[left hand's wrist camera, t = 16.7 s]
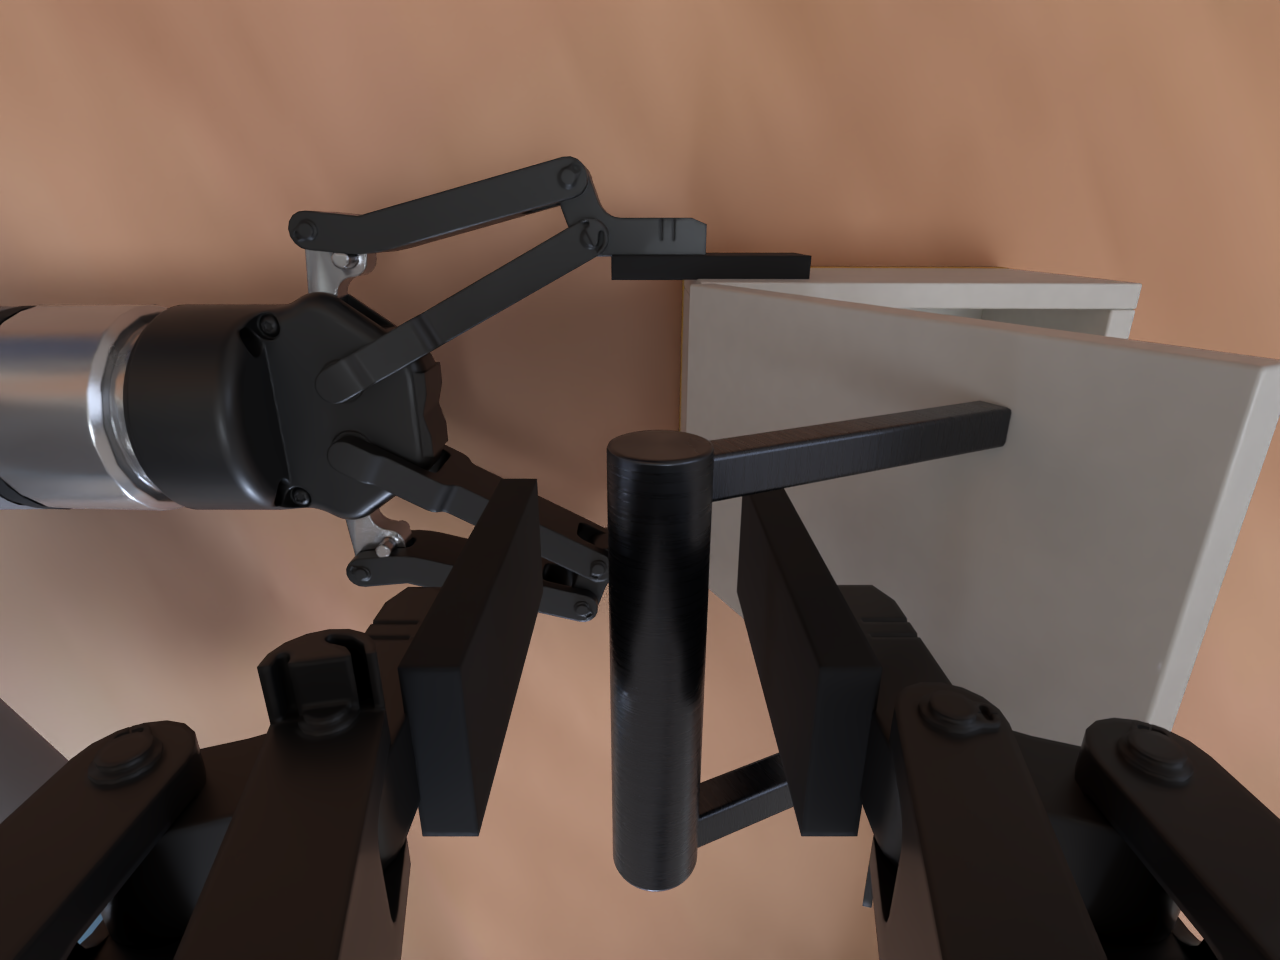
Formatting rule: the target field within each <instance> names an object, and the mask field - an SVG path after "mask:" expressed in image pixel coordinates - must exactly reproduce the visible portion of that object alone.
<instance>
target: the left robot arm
mask: <svg viewBox="0 0 1280 960" xmlns="http://www.w3.org/2000/svg"><path fill="white" fill-rule="evenodd" d="M542 595H543V577H542V560H541V542H540V525H539V507H538V490H537V479H501V480H500V482H499V484H498V486H497V487H496V489H495V491H494V493H493V495H492V497H491V498H490V500H489V502H488V504H487V506H486V507H485V509H484V511H483V513H482V515H481V517H480V518H479V520H478V522H477V524H476V526H475V527H474V529H473V531H472V533H471V535H470V537H469V538H468V540H467V542H466V544H465V546H464V547H463V549H462V551H461V553H460V555H459V557H458V558H457V560H456V562H455V564H454V566H453V567H452V569H451V571H450V573H449V575H448V577H447V578H446V580H445V582H444V584H443V586H442V587H407V588H406V589H404V590H403V591H402V592H400V593H399V594H397V595H396V596H394V597H393V598H391V599H390V600H389V601H387V602H386V603H385V604H384V606H383V607H382V609H381V610H380V611H379V613H378V614H377V616H376V617H375V619H374V620H373V624H371V625H370V626H369V628H368V629H367V631H366V632H365V633H363V632H359V631H355V630H351V629H328V630H323V631H319V632H314V633H309V634H305V635H303V636H300V637H298V638H295V639H293V640H290V641H288V642H285V643H284V644H282V645H281V646H279V647H278V648H276V649H275V650H273V651H272V652H270V653H269V654H267V656H266V657H265V658H264V659H263V661H262V662H261V663H260V664H259V665H258V667H257V669H258V673H259V678H260V682H261V686H262V690H263V694H264V699H265V703H266V707H267V711H268V715H269V720H270V724H271V725H270V727H269V729H268V732H267V734H263V735H260V736H256V737H253V738H249V739H245V740H240V741H235V742H231V743H226V744H221V745H217V746H212V747H208V748H203V749H200V748H199V745H198V741H197V738H196V734H195V732H194V731H193V730H192V729H191V728H190V727H188V726H187V725H186V724H185V723H179V722H173V721H168V720H167V721H158V722H148V723H142V724H139V725H135V726H132V727H127V728H125V729H122V730H119V731H116V732H114V733H113V734H111V735H109V736H107V737H105V738H103V739H101V740H99V741H96V742H94V743H92V744H91V745H90V746H88V747H87V748H85V749H84V750H83V751H81V752H80V753H79V754H77V755H76V756H75V757H73V758H72V759H70V760H69V761H68V762H67V763H66V764H65V765H64V766H63V767H62V768H61V769H60V770H58V771H57V772H56V773H55V774H54V775H53V776H52V777H51V778H50V779H49V780H48V781H46V782H45V783H44V784H43V785H42V786H41V787H40V788H39V789H38V790H37V791H36V792H34V793H33V794H32V795H31V796H30V797H29V798H28V799H27V800H26V801H25V802H24V803H22V804H21V805H20V806H19V807H18V808H17V809H16V810H15V811H14V812H13V813H11V814H10V815H9V816H8V817H7V818H6V819H5V820H4V821H3V822H2V823H1V824H0V960H401V953H402V943H403V933H404V924H405V914H406V905H407V895H408V885H409V876H410V866H411V862H410V856H409V849H408V842H407V834H408V832H409V829H410V826H411V824H412V821H413V819H414V816H415V813H416V811H417V808H419V815H420V822H421V828H422V835H423V836H479V833H480V829H481V825H482V821H483V817H484V814H485V810H486V806H487V802H488V799H489V795H490V791H491V787H492V783H493V780H494V776H495V772H496V768H497V765H498V761H499V757H500V753H501V749H502V746H503V742H504V738H505V734H506V731H507V727H508V723H509V719H510V716H511V712H512V708H513V704H514V700H515V697H516V693H517V689H518V685H519V682H520V678H521V674H522V670H523V666H524V663H525V659H526V655H527V651H528V648H529V644H530V640H531V636H532V632H533V629H534V625H535V621H536V617H537V614H538V610H539V606H540V602H541V598H542ZM737 595H738V598H739V602H740V606H741V610H742V614H743V617H744V621H745V625H746V629H747V632H748V636H749V640H750V644H751V648H752V651H753V655H754V659H755V663H756V666H757V670H758V674H759V678H760V682H761V685H762V689H763V693H764V697H765V700H766V704H767V708H768V712H769V716H770V719H771V723H772V727H773V731H774V734H775V738H776V742H777V746H778V749H779V753H780V757H781V761H782V765H783V768H784V772H785V776H786V780H787V783H788V787H789V791H790V795H791V799H792V802H793V806H794V810H795V814H796V817H797V821H798V825H799V829H800V833H801V836H857V835H858V828H859V822H860V815H861V808H862V805H863V807H864V810H865V813H866V815H867V818H868V820H869V823H870V826H871V828H872V831H873V833H874V836H873V842H872V849H871V855H870V861H869V867H868V873H867V880H866V886H865V892H864V899H863V906H866V907H872V901H873V903H874V913H875V922H876V932H877V941H878V951H879V960H1280V819H1279V818H1278V817H1277V816H1276V815H1275V814H1274V813H1272V812H1271V811H1270V810H1269V809H1268V808H1267V807H1266V806H1265V805H1264V804H1263V803H1261V802H1260V801H1259V800H1258V799H1257V798H1256V797H1255V796H1254V795H1253V794H1251V793H1250V792H1249V791H1248V790H1247V789H1246V788H1245V787H1244V786H1243V785H1242V784H1240V783H1239V782H1238V781H1237V780H1236V779H1235V778H1234V777H1233V776H1232V775H1231V774H1229V773H1228V772H1227V771H1226V770H1225V769H1224V768H1223V767H1222V766H1221V765H1220V764H1218V763H1217V762H1216V761H1215V760H1214V759H1213V758H1212V757H1211V756H1209V755H1208V754H1207V753H1205V752H1204V751H1203V750H1201V749H1200V748H1198V747H1197V746H1196V745H1194V744H1193V743H1192V742H1190V741H1189V740H1187V739H1185V738H1183V737H1181V736H1178V735H1176V734H1174V733H1172V732H1170V731H1168V730H1167V729H1165V728H1162V727H1159V726H1156V725H1153V724H1149V723H1146V722H1142V721H1138V720H1132V719H1123V718H1108V719H1102V720H1096V721H1095V722H1094V723H1093V724H1091V725H1090V726H1089V727H1088V728H1087V729H1086V731H1085V734H1084V738H1083V741H1082V745H1081V746H1077V745H1072V744H1067V743H1063V742H1058V741H1053V740H1049V739H1044V738H1039V737H1035V736H1031V735H1027V734H1023V733H1020V732H1016V731H1013V730H1012V728H1011V726H1010V724H1009V722H1008V721H1007V719H1006V718H1005V716H1004V715H1003V714H1002V712H1001V711H1000V709H998V708H997V707H996V706H994V705H993V704H992V703H990V702H989V701H988V700H987V699H985V698H984V697H982V696H980V695H978V694H976V693H974V692H971V691H969V690H967V689H965V688H963V687H958V686H954V685H952V684H951V682H950V681H949V679H948V678H947V676H946V675H945V673H944V672H943V670H942V669H941V667H940V666H939V665H938V663H937V662H936V660H935V659H934V657H933V656H932V654H931V653H930V651H929V650H928V648H927V647H926V645H925V644H924V643H923V641H922V640H921V638H920V637H917V632H916V631H915V629H914V628H913V626H912V625H911V623H910V622H907V618H906V616H905V615H904V613H903V612H902V610H901V609H900V607H899V606H898V604H897V603H896V601H895V600H893V599H892V598H891V597H889V596H888V595H886V594H885V593H883V592H882V591H880V590H879V589H878V588H876V587H875V586H873V585H837V584H836V582H835V580H834V578H833V577H832V575H831V573H830V571H829V569H828V567H827V566H826V564H825V562H824V560H823V558H822V557H821V555H820V553H819V551H818V549H817V547H816V546H815V544H814V542H813V540H812V538H811V537H810V535H809V533H808V531H807V529H806V527H805V526H804V524H803V522H802V520H801V518H800V517H799V515H798V513H797V511H796V509H795V507H794V506H793V504H792V502H791V500H790V498H789V497H788V495H787V493H786V491H785V489H778V490H773V491H768V492H763V493H758V494H752V495H747V496H742V507H741V525H740V542H739V560H738V577H737ZM1180 910H1181V911H1182V912H1183V913H1184V915H1185V916H1186V917H1187V918H1188V920H1189V921H1190V922H1191V923H1192V925H1193V926H1194V927H1195V928H1196V930H1197V931H1198V932H1199V933H1200V934H1201V936H1202V937H1203V938H1204V939H1203V941H1202V942H1201V941H1199V940H1198V939H1197V938H1196V937H1195V936H1194V935H1193V934H1192V933H1191V932H1190V931H1189V930H1188V928H1187V927H1186V926H1185V925H1184V923H1183V922H1182V921H1181V920H1180V918H1179V917H1178V915H1179V913H1180ZM100 913H101V915H102V918H103V920H102V921H101V922H100V924H99V925H98V926H97V927H96V929H95V930H94V931H93V932H92V934H90V935H89V936H88V937H87V938H86V939H85V940H84V941H83V942H82V943H81V944H79V943H78V941H79V940H80V938H81V937H82V936H83V935H84V933H85V932H86V931H87V930H88V928H89V927H90V926H91V925H92V923H93V922H94V921H95V920H96V918H97V917H98V916H99V915H100Z"/></svg>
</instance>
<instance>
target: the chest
mask: <svg viewBox="0 0 1280 960" xmlns="http://www.w3.org/2000/svg"><path fill="white" fill-rule="evenodd" d="M706 283H714V284H721V285H729V286H736V287H744V288H751V289H759V290H766V291H773V292H781V293H788V294H796V295H803V296H811V297H818V298H825V299H833V300H840V301H848V302H855V303H863V304H870V305H878V306H885V307H892V308H900V309H907V310H915V311H922V312H930V313H937V314H944V315H952V316H959V317H967V318H974V319H982V320H989V321H996V322H1004V323H1011V324H1019V325H1026V326H1034V327H1041V328H1048V329H1056V330H1063V331H1071V332H1078V333H1086V334H1093V335H1101V336H1108V337H1115V338H1123V339H1128V337H1129V334H1130V330H1131V326H1132V322H1133V318H1134V314H1135V311H1134V310H1133V309H1136V307H1137V303H1138V299H1139V295H1140V291H1141V287H1142V284H1140V283H1133V282H1124V281H1116V280H1107V279H1098V278H1089V277H1080V276H1071V275H1062V274H1053V273H1044V272H1035V271H1026V270H1017V269H1009V268H1003V267H810V278H809V279H697V280H683V284H682V327H681V370H680V412H679V431H680V432H686V412H687V375H688V338H689V302H690V285H692V284H706Z"/></svg>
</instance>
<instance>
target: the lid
mask: <svg viewBox="0 0 1280 960" xmlns="http://www.w3.org/2000/svg"><path fill="white" fill-rule="evenodd" d="M1279 416H1280V360H1279V359H1271V358H1264V357H1257V356H1249V355H1242V354H1234V353H1227V352H1219V351H1212V350H1205V349H1197V348H1190V347H1182V346H1175V345H1167V344H1160V343H1153V342H1145V341H1138V340H1130V339H1123V338H1115V337H1108V336H1101V335H1093V334H1086V333H1078V332H1071V331H1063V330H1056V329H1048V328H1041V327H1034V326H1026V325H1019V324H1011V323H1004V322H996V321H989V320H982V319H974V318H967V317H959V316H952V315H944V314H937V313H930V312H922V311H915V310H907V309H900V308H892V307H885V306H878V305H870V304H863V303H855V302H848V301H840V300H833V299H825V298H818V297H811V296H803V295H796V294H788V293H781V292H773V291H766V290H759V289H751V288H744V287H736V286H729V285H721V284H714V283H706V284H692V285H690V302H689V338H688V375H687V412H686V432H680V431H671V430H647V431H638V432H632V433H628V434H624V435H621V436H618V437H616V438H614V439H612V440H611V441H610V442H609V444H608V446H607V500H608V564H609V628H610V692H611V755H612V819H613V859H614V863H615V865H616V868H617V870H618V871H619V873H620V874H621V876H622V877H623V878H624V879H625V880H626V881H627V882H629V883H630V884H631V885H633V886H635V887H637V888H640V889H642V890H646V891H666V890H670V889H672V888H675V887H677V886H679V885H680V884H681V883H683V882H684V881H685V880H686V879H687V878H688V877H689V876H690V874H691V873H692V871H693V869H694V867H695V865H696V861H697V848H698V847H701V846H703V845H705V844H708V843H710V842H712V841H715V840H717V839H719V838H722V837H724V836H726V835H729V834H731V833H733V832H736V831H738V830H740V829H742V828H745V827H747V826H749V825H752V824H754V823H756V822H759V821H761V820H763V819H766V818H768V817H770V816H773V815H775V814H777V813H780V812H782V811H784V810H787V809H789V808H791V807H793V802H792V799H791V795H790V791H789V787H788V783H787V780H786V776H785V772H784V768H783V765H782V761H781V757H780V753H777V754H774V755H771V756H769V757H766V758H764V759H761V760H758V761H756V762H753V763H751V764H748V765H746V766H743V767H740V768H738V769H735V770H733V771H730V772H727V773H725V774H722V775H720V776H717V777H715V778H712V779H709V780H707V781H704V782H702V783H700V774H701V751H702V728H703V704H704V681H705V658H706V635H707V611H708V588H709V589H710V590H711V591H712V592H713V593H714V594H715V595H717V596H718V597H719V598H720V599H721V600H722V601H724V602H725V603H726V604H727V605H728V606H729V607H730V608H732V609H733V610H734V611H735V612H736V613H737V614H739V615H740V616H741V617H742V618H743V619H744V617H743V614H742V610H741V606H740V602H739V598H738V595H737V577H738V560H739V542H740V525H741V507H742V496H747V495H752V494H758V493H763V492H768V491H773V490H778V489H785V491H786V493H787V495H788V497H789V498H790V500H791V502H792V504H793V506H794V507H795V509H796V511H797V513H798V515H799V517H800V518H801V520H802V522H803V524H804V526H805V527H806V529H807V531H808V533H809V535H810V537H811V538H812V540H813V542H814V544H815V546H816V547H817V549H818V551H819V553H820V555H821V557H822V558H823V560H824V562H825V564H826V566H827V567H828V569H829V571H830V573H831V575H832V577H833V578H834V580H835V582H836V584H837V585H873V586H875V587H876V588H878V589H879V590H880V591H882V592H883V593H885V594H886V595H888V596H889V597H891V598H892V599H893V600H895V601H896V603H897V604H898V606H899V607H900V609H901V610H902V612H903V613H904V615H905V616H906V618H907V622H910V623H911V625H912V626H913V628H914V629H915V631H916V632H917V637H920V638H921V640H922V641H923V643H924V644H925V645H926V647H927V648H928V650H929V651H930V653H931V654H932V656H933V657H934V659H935V660H936V662H937V663H938V665H939V666H940V667H941V669H942V670H943V672H944V673H945V675H946V676H947V678H948V679H949V681H950V682H951V684H952V685H954V686H958V687H963V688H965V689H967V690H969V691H971V692H974V693H976V694H978V695H980V696H982V697H984V698H985V699H987V700H988V701H989V702H990V703H992V704H993V705H994V706H996V707H997V708H998V709H1000V711H1001V712H1002V714H1003V715H1004V716H1005V718H1006V719H1007V721H1008V722H1009V724H1010V726H1011V728H1012V730H1013V731H1016V732H1020V733H1023V734H1027V735H1031V736H1035V737H1039V738H1044V739H1049V740H1053V741H1058V742H1063V743H1067V744H1072V745H1077V746H1081V745H1082V741H1083V738H1084V734H1085V731H1086V729H1087V728H1088V727H1089V726H1090V725H1091V724H1093V723H1094V722H1095V721H1096V720H1102V719H1108V718H1123V719H1132V720H1138V721H1142V722H1146V723H1149V724H1153V725H1156V726H1159V727H1162V728H1165V729H1167V730H1168V731H1170V732H1171V730H1172V727H1173V724H1174V721H1175V718H1176V715H1177V712H1178V709H1179V706H1180V703H1181V701H1182V698H1183V695H1184V692H1185V689H1186V686H1187V683H1188V680H1189V677H1190V674H1191V672H1192V669H1193V666H1194V663H1195V660H1196V657H1197V654H1198V651H1199V648H1200V645H1201V642H1202V640H1203V637H1204V634H1205V631H1206V628H1207V625H1208V622H1209V619H1210V616H1211V613H1212V610H1213V608H1214V605H1215V602H1216V599H1217V596H1218V593H1219V590H1220V587H1221V584H1222V581H1223V579H1224V576H1225V573H1226V570H1227V567H1228V564H1229V561H1230V558H1231V555H1232V552H1233V549H1234V547H1235V544H1236V541H1237V538H1238V535H1239V532H1240V529H1241V526H1242V523H1243V520H1244V517H1245V515H1246V512H1247V509H1248V506H1249V503H1250V500H1251V497H1252V494H1253V491H1254V488H1255V485H1256V483H1257V480H1258V477H1259V474H1260V471H1261V468H1262V465H1263V462H1264V459H1265V456H1266V454H1267V451H1268V448H1269V445H1270V442H1271V439H1272V436H1273V433H1274V430H1275V427H1276V424H1277V422H1278V419H1279Z"/></svg>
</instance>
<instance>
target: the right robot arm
mask: <svg viewBox="0 0 1280 960" xmlns="http://www.w3.org/2000/svg"><path fill="white" fill-rule="evenodd" d="M557 206H561V209H562V211H563V214H564V217H565V219H566V222H567V225H568V227H569V228H567V229H565V230H563V231H562V232H560V233H558V234H557V235H555V236H553V237H552V238H550V239H548V240H546V241H545V242H543V243H541V244H540V245H538V246H536V247H534V248H533V249H531V250H529V251H528V252H526V253H524V254H523V255H521V256H519V257H517V258H516V259H514V260H512V261H511V262H509V263H507V264H505V265H504V266H502V267H500V268H499V269H497V270H495V271H494V272H492V273H490V274H488V275H487V276H485V277H483V278H482V279H480V280H478V281H476V282H475V283H473V284H471V285H470V286H468V287H466V288H464V289H463V290H461V291H459V292H458V293H456V294H454V295H453V296H451V297H449V298H447V299H446V300H444V301H442V302H441V303H439V304H437V305H435V306H434V307H432V308H430V309H429V310H427V311H425V312H423V313H422V314H420V315H418V316H416V317H414V318H412V319H410V320H409V321H407V322H405V323H403V324H402V325H400V326H398V327H397V326H396V325H394V324H393V323H391V322H390V321H388V320H387V319H385V318H384V317H382V316H381V315H379V314H378V313H377V312H375V311H374V310H372V309H371V308H369V307H368V306H366V305H365V304H363V303H362V302H360V301H359V300H357V299H356V298H354V297H353V296H351V295H350V294H348V286H349V283H350V282H351V281H352V279H353V278H355V277H357V276H361V275H366V274H369V273H370V272H372V271H373V269H374V268H375V266H376V260H377V256H376V253H380V252H390V251H399V250H403V249H408V248H412V247H416V246H419V245H423V244H426V243H430V242H433V241H437V240H440V239H444V238H447V237H451V236H454V235H458V234H461V233H465V232H469V231H472V230H476V229H479V228H483V227H486V226H490V225H493V224H497V223H500V222H504V221H507V220H511V219H515V218H518V217H522V216H525V215H529V214H532V213H536V212H539V211H543V210H546V209H550V208H553V207H557ZM706 229H707V224H704V223H702V222H700V221H698V220H695V219H693V218H618V217H614V216H611V215H610V214H608V213H607V212H606V211H605V210H604V208H603V207H602V205H601V203H600V201H599V198H598V195H597V192H596V189H595V187H594V184H593V181H592V177H591V175H590V172H589V170H588V169H587V168H586V167H585V166H584V165H583V164H582V163H581V162H580V161H579V160H578V159H576V158H573V157H571V156H568V157H561V158H557V159H554V160H550V161H547V162H543V163H540V164H536V165H533V166H529V167H526V168H523V169H519V170H516V171H512V172H509V173H505V174H502V175H498V176H495V177H491V178H488V179H485V180H481V181H478V182H474V183H471V184H467V185H464V186H460V187H457V188H453V189H450V190H447V191H443V192H440V193H436V194H433V195H429V196H426V197H422V198H419V199H415V200H412V201H408V202H405V203H402V204H398V205H395V206H391V207H388V208H384V209H381V210H377V211H374V212H370V213H367V214H364V215H359V214H350V213H340V212H322V211H298V212H297V213H295V214H294V215H292V217H291V219H290V221H289V226H288V230H289V233H290V237H291V238H292V240H293V241H294V243H295V244H297V245H298V246H299V247H301V248H303V249H305V253H306V266H307V280H308V294H306V295H304V296H302V297H300V298H299V299H297V300H296V301H294V302H292V303H290V304H284V305H177V306H174V307H170V308H166V307H162V306H159V305H155V304H131V305H38V306H19V307H0V510H1V509H121V510H172V509H180V508H182V507H186V508H191V509H200V510H281V509H295V508H316V509H320V510H324V511H326V512H329V513H331V514H333V515H335V516H337V517H339V518H343V519H346V522H347V526H348V530H349V533H350V537H351V541H352V544H353V548H354V552H355V557H354V558H353V560H352V561H351V562H350V563H349V564H348V566H347V569H346V572H347V576H348V578H349V580H350V581H351V582H353V583H354V584H356V585H358V586H364V587H368V586H379V585H391V584H403V583H409V584H414V585H418V586H423V587H442V586H443V584H444V582H445V580H446V578H447V577H448V575H449V573H450V571H451V569H452V567H453V566H454V564H455V562H456V560H457V558H458V557H459V555H460V553H461V551H462V549H463V547H464V546H465V544H466V542H467V540H468V539H466V538H462V537H458V536H453V535H449V534H445V533H440V532H434V531H426V530H410V526H409V524H408V523H407V522H406V521H403V520H401V521H396V520H391V519H388V518H386V517H385V516H384V515H383V514H382V513H381V512H380V509H379V508H380V507H381V506H382V505H384V504H385V503H386V502H388V501H389V500H391V499H392V498H393V497H395V496H398V497H400V498H402V499H404V500H406V501H409V502H411V503H413V504H415V505H417V506H419V507H421V508H424V509H426V510H428V511H431V512H447V513H449V514H451V515H454V516H456V517H458V518H460V519H462V520H464V521H466V522H468V523H471V524H473V525H475V526H476V524H477V522H478V520H479V518H480V517H481V515H482V513H483V511H484V509H485V507H486V506H487V504H488V502H489V500H490V498H491V497H492V495H493V493H494V491H495V489H496V487H497V486H498V484H499V482H500V480H501V479H503V478H501V477H499V476H497V475H495V474H493V473H491V472H489V471H487V470H485V469H482V468H480V467H478V466H476V465H475V464H473V463H472V462H471V461H470V459H469V458H468V457H467V456H466V455H464V454H463V453H461V452H459V451H457V450H455V449H453V448H450V447H448V446H446V445H445V443H446V442H447V441H448V435H447V425H446V420H445V418H444V415H443V412H442V410H441V407H440V405H439V397H440V391H441V385H442V377H441V367H440V362H435V361H434V359H433V357H432V355H431V353H430V352H431V351H433V350H434V349H436V348H438V347H440V346H441V345H443V344H445V343H446V342H448V341H450V340H452V339H453V338H455V337H457V336H459V335H460V334H462V333H464V332H466V331H467V330H469V329H471V328H473V327H474V326H476V325H478V324H480V323H481V322H483V321H485V320H487V319H488V318H490V317H492V316H494V315H495V314H497V313H499V312H501V311H502V310H504V309H506V308H508V307H509V306H511V305H513V304H515V303H516V302H518V301H520V300H521V299H523V298H525V297H527V296H528V295H530V294H532V293H534V292H535V291H537V290H539V289H541V288H542V287H544V286H546V285H548V284H549V283H551V282H553V281H555V280H556V279H558V278H560V277H562V276H563V275H565V274H567V273H569V272H570V271H572V270H574V269H576V268H577V267H579V266H581V265H583V264H584V263H586V262H588V261H590V260H591V259H593V258H595V257H596V256H611V268H612V280H697V279H809V278H810V266H811V256H809V255H803V254H797V253H706ZM538 507H539V525H540V542H541V560H542V577H543V595H542V598H541V602H540V606H539V610H538V612H539V613H543V614H548V615H552V616H557V617H561V618H566V619H570V620H575V621H579V622H586V621H589V620H591V619H593V618H594V617H595V616H596V614H597V611H598V605H599V602H600V600H601V597H602V595H603V592H604V590H605V587H606V585H607V584H608V583H609V564H608V526H607V528H604V527H602V526H600V525H598V524H595V523H593V522H591V521H589V520H587V519H585V518H583V517H581V516H579V515H577V514H575V513H573V512H571V511H569V510H567V509H565V508H563V507H561V506H558V505H556V504H554V503H552V502H550V501H548V500H546V499H544V498H542V497H540V496H538ZM67 762H68V760H67V759H66V758H65V757H64V756H63V755H62V754H61V753H60V752H58V751H57V750H56V749H55V748H54V747H53V746H52V745H51V744H50V743H49V742H48V741H46V740H45V739H44V738H43V737H42V736H41V735H40V734H39V733H38V732H37V731H36V730H34V729H33V728H32V727H31V726H30V725H29V724H28V723H27V722H26V721H25V720H24V719H22V718H21V717H20V716H19V715H18V714H17V713H16V712H15V711H14V710H13V709H11V708H10V707H9V706H8V705H7V704H6V703H5V702H4V701H3V700H2V699H1V698H0V824H1V823H2V822H3V821H4V820H5V819H6V818H7V817H8V816H9V815H10V814H11V813H13V812H14V811H15V810H16V809H17V808H18V807H19V806H20V805H21V804H22V803H24V802H25V801H26V800H27V799H28V798H29V797H30V796H31V795H32V794H33V793H34V792H36V791H37V790H38V789H39V788H40V787H41V786H42V785H43V784H44V783H45V782H46V781H48V780H49V779H50V778H51V777H52V776H53V775H54V774H55V773H56V772H57V771H58V770H60V769H61V768H62V767H63V766H64V765H65V764H66V763H67ZM102 920H103V918H102V915H101V913H100V915H99V916H98V917H97V918H96V920H95V921H94V922H93V923H92V925H91V926H90V927H89V928H88V930H87V931H86V932H85V933H84V935H83V936H82V937H81V938H80V940H79V941H78V943H79V944H81V943H82V942H83V941H84V940H85V939H86V938H87V937H88V936H89V935H90V934H92V932H93V931H94V930H95V929H96V927H97V926H98V925H99V924H100V922H101V921H102Z"/></svg>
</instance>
